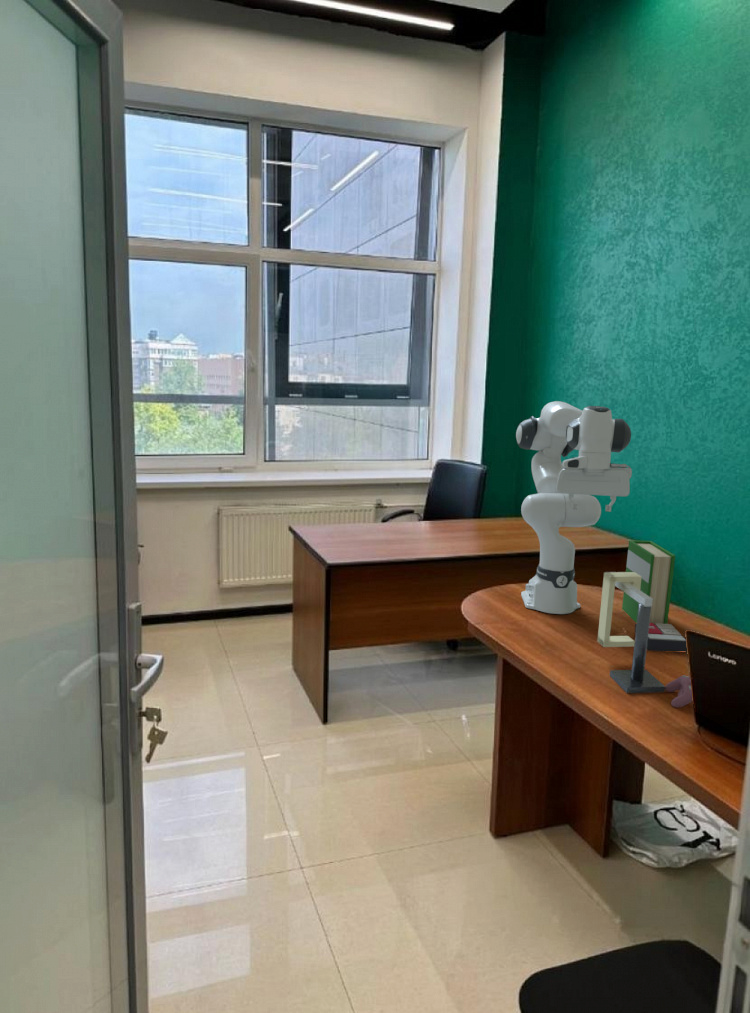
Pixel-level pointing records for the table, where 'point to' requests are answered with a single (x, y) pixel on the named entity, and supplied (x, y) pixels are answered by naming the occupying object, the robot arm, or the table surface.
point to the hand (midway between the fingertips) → (591, 510)
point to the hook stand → (638, 648)
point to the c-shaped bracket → (607, 608)
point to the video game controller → (680, 691)
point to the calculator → (664, 638)
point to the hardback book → (650, 578)
